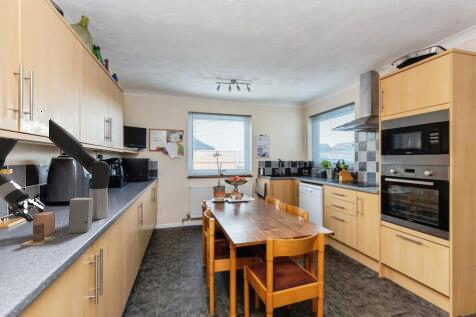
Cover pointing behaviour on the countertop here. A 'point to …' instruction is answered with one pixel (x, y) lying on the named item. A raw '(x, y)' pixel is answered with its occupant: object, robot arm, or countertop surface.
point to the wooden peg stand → (38, 236)
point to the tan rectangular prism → (46, 221)
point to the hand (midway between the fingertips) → (39, 218)
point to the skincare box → (80, 215)
